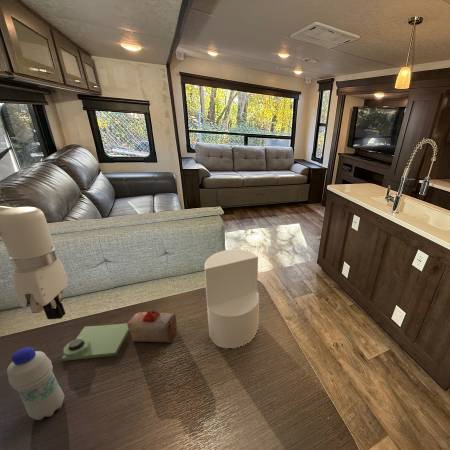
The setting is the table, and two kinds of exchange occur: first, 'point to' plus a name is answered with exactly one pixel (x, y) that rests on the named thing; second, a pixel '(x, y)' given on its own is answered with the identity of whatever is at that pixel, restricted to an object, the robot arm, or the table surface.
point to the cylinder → (232, 297)
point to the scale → (98, 342)
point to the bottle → (35, 382)
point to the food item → (153, 327)
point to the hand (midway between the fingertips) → (56, 316)
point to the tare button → (76, 344)
